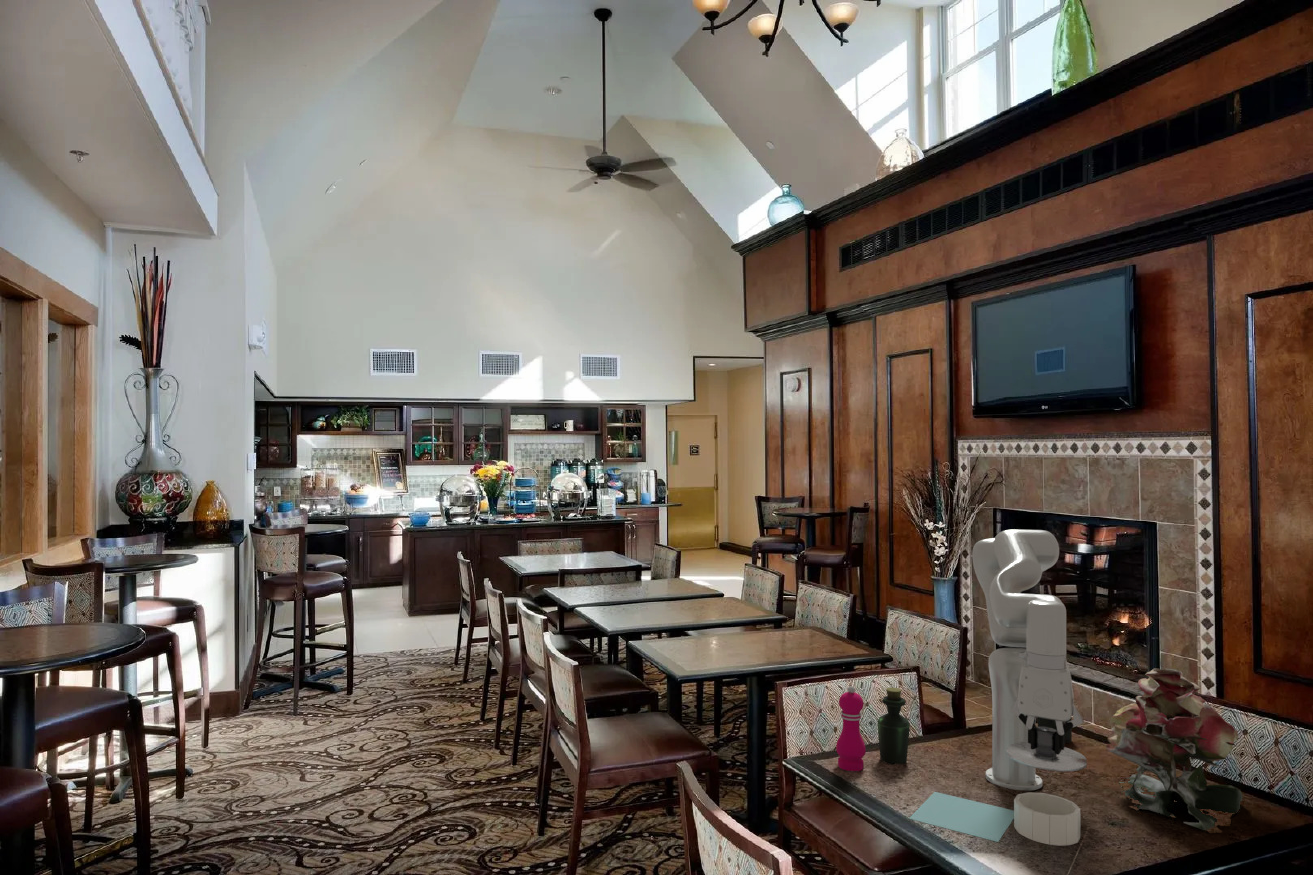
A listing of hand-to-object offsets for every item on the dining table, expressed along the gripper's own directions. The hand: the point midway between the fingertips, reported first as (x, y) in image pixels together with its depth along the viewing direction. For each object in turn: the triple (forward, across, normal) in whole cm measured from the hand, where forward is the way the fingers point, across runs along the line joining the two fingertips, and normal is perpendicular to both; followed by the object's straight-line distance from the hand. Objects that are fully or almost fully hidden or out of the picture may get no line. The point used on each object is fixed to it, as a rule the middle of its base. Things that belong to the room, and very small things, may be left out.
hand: (1046, 749), depth 172 cm
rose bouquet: (+17, +19, +36) cm, 44 cm away
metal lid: (+2, 0, 0) cm, 2 cm away
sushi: (+17, -10, +66) cm, 69 cm away
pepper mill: (+17, -47, +11) cm, 51 cm away
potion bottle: (+17, -40, +22) cm, 49 cm away
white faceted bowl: (+17, 0, 0) cm, 17 cm away
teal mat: (+17, -16, -2) cm, 23 cm away
